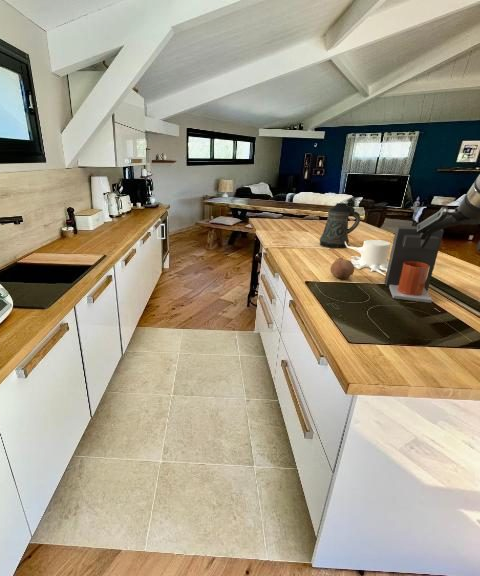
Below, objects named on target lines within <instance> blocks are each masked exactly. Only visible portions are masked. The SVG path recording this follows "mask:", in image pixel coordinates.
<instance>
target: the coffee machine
mask: <svg viewBox="0 0 480 576" xmlns="http://www.w3.org/2000/svg"><path fill="white" fill-rule="evenodd" d="M444 232H445V230H444V229H442V230H439V231H436V232H434V233H431V237H430V238H429V240H428V242H427V243H426V245H425V246H424V248H421V240H420V234H421V233H417V225H416V226H415V225H414V226H413V225H396V227H395V232H394V237H393V240H392V244H391V250H390V253H389V254H390V255H389V258H388V259H389V260H388V261H389V262H388V263H389V264H388V268H387V272H385V274H386V276H385V277H384V278H385V279H384V284H385V285H384V286H385V287H386V288H388V289H389V291H390V294H391V296H392V299H396V300H405V301H412V302H421V303H429V304H432V303H433V299H432V297H431V295H430V294H429V292H428V290H429V286H430V284H431V279H432V275H433V272H434V270H435V269H434V268H435V264H436V262H437V257H438V254H439V250H440V247H441V243H442V239H443V237H444V236H443V235H444ZM407 261H416V262H422V263H426V264H428V265H429V266H430V268H429V272H428V275H427V279H426V283H425V287H424V290H423V293H422V295H419V296H411V295H406V294H403V293H400V292H399V291H398V290H397V289H398V284H399V280H400V275H401V271H402V267H403V263H404V262H407Z"/></svg>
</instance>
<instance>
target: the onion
mask: <svg viewBox="0 0 480 576" xmlns="http://www.w3.org/2000/svg"><path fill="white" fill-rule="evenodd" d="M349 260H350V259H345V258H343V257H338V258H336V259H335V260H334V261H333V262H332V264H331V265H330V268H329V269H330V273H331V275H332V276H333V277H334V278H336V279H338V280H343V281H344V280H346V279H349V278H350V277H351V276H353V274H354V272H355V267H354V265H353V264H352V262H351V261H349Z"/></svg>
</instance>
